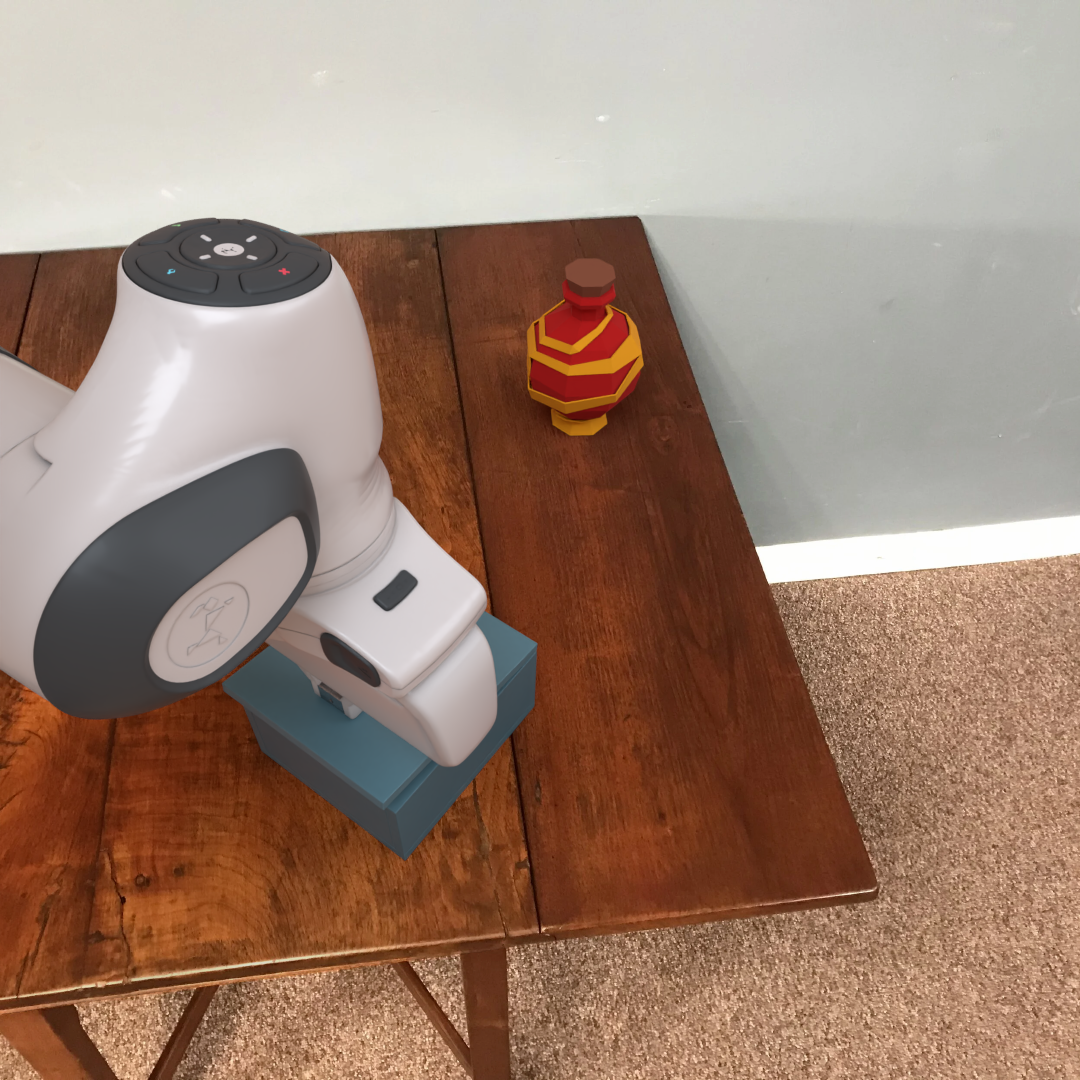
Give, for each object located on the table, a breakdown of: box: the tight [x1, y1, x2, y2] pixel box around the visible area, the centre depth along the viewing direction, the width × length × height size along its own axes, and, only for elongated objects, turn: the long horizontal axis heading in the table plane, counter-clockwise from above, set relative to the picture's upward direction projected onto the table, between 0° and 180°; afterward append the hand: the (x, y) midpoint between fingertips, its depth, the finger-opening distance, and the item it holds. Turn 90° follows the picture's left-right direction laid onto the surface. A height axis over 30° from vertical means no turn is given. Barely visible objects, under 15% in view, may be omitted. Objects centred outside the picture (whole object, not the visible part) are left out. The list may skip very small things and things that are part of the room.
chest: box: [242, 650, 538, 861], centre depth 61 cm, size 14×13×7 cm
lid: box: [221, 610, 538, 810], centre depth 57 cm, size 14×13×1 cm
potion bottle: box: [526, 257, 645, 437], centre depth 79 cm, size 10×10×15 cm
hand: (344, 698), depth 55 cm, fingers closed, pressing on lid
